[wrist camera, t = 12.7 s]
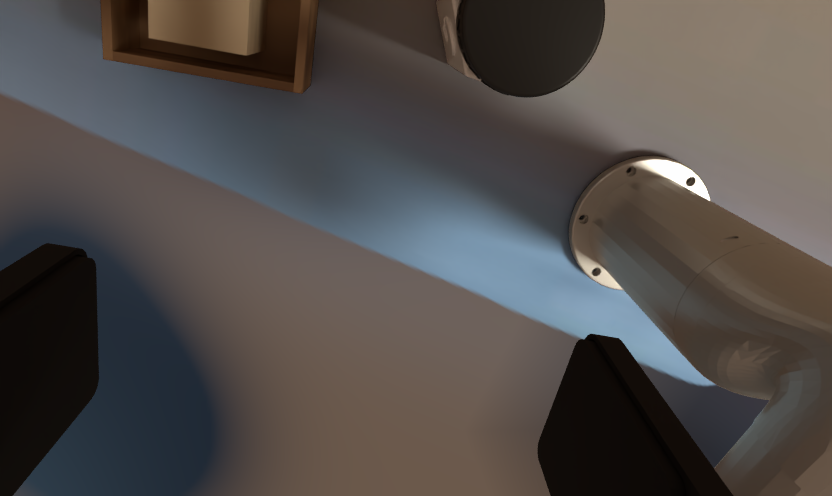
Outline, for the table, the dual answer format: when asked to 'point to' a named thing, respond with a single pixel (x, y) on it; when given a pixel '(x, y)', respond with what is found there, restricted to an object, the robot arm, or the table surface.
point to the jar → (521, 41)
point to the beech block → (210, 24)
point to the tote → (272, 68)
